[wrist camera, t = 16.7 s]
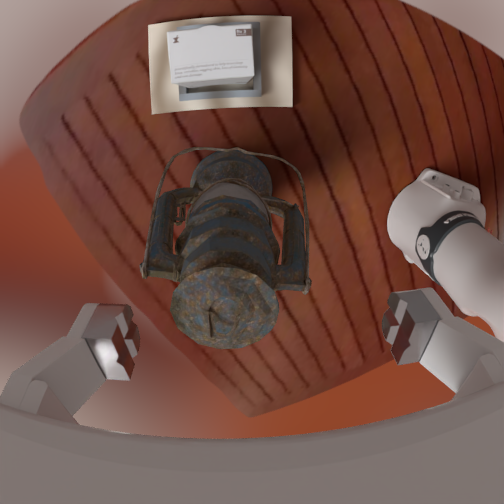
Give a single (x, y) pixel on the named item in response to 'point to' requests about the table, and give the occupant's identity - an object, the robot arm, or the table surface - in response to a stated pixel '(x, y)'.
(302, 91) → the table surface
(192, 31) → the skincare box
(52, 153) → the table surface
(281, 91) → the board
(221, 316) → the lantern
